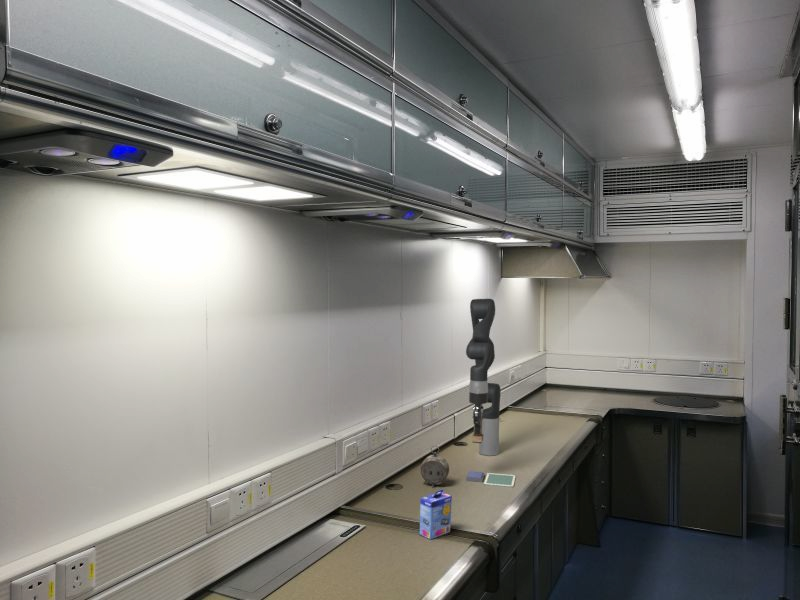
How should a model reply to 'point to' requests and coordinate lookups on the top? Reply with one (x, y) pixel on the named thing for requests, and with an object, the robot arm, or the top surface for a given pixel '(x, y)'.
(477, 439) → the stamp
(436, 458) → the alarm clock
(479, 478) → the ink pad
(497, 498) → the top surface
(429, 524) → the ink cartridge box
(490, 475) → the green white framed board
